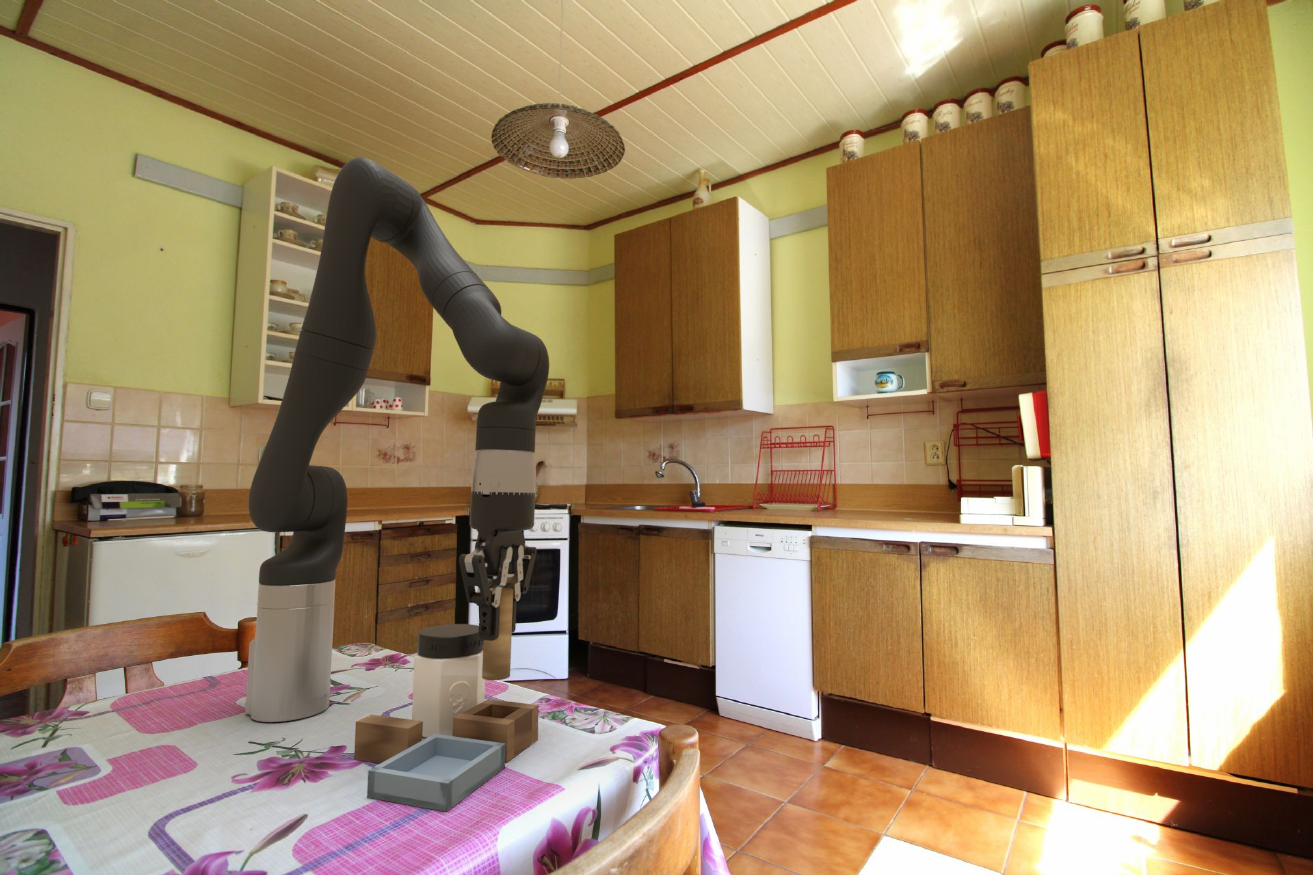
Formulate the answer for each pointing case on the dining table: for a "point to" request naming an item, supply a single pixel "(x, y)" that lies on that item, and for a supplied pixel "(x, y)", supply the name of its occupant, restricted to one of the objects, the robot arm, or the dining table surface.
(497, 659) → the dowel
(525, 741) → the socket block
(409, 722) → the block
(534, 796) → the dining table surface
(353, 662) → the dining table surface
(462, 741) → the tray
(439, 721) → the jar
